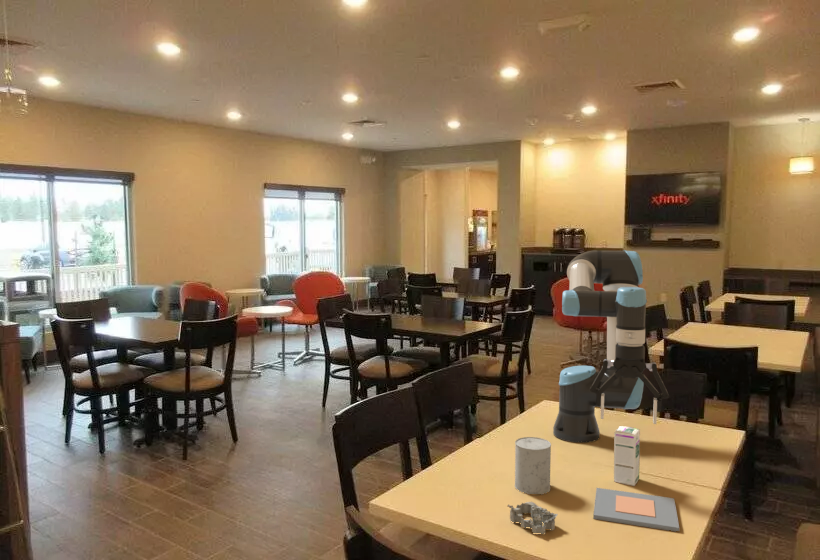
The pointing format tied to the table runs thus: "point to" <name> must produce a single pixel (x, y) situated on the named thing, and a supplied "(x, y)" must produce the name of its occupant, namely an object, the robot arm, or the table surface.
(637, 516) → the board
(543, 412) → the table surface
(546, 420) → the table surface
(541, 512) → the grey irregular lumpy piece
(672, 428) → the table surface
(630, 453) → the syrup box
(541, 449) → the grey marbled cylinder
